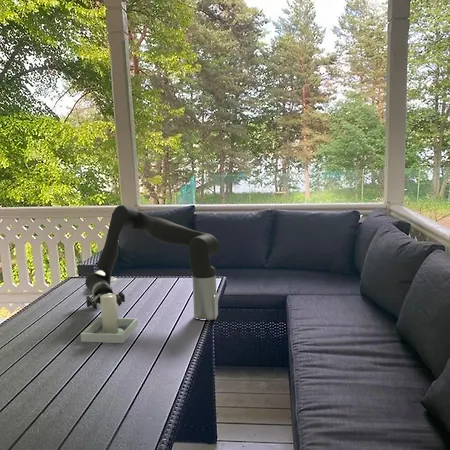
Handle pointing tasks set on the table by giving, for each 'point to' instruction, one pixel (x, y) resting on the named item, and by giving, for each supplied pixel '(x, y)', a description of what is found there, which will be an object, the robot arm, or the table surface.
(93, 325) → the square picture frame
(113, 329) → the canister
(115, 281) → the mug
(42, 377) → the table surface
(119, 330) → the pad
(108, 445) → the table surface
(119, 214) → the robot arm
